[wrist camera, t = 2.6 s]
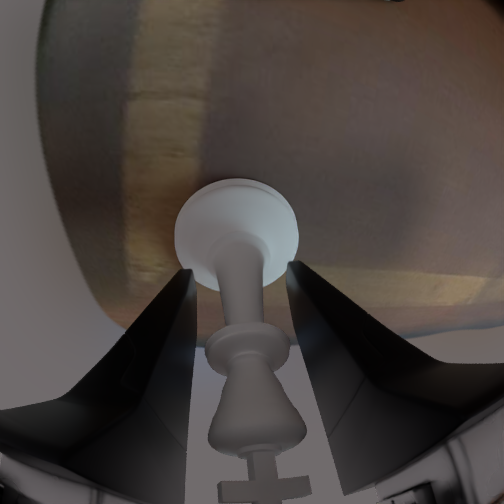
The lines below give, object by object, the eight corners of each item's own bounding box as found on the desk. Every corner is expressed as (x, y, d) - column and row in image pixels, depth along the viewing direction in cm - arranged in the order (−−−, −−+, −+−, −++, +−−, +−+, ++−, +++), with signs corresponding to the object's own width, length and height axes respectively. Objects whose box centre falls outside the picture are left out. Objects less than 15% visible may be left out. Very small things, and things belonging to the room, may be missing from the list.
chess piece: (275, 291, 13) (323, 516, 5) (168, 273, 12) (138, 522, 4) (314, 195, 11) (463, 463, 2) (186, 165, 10) (101, 522, 1)
